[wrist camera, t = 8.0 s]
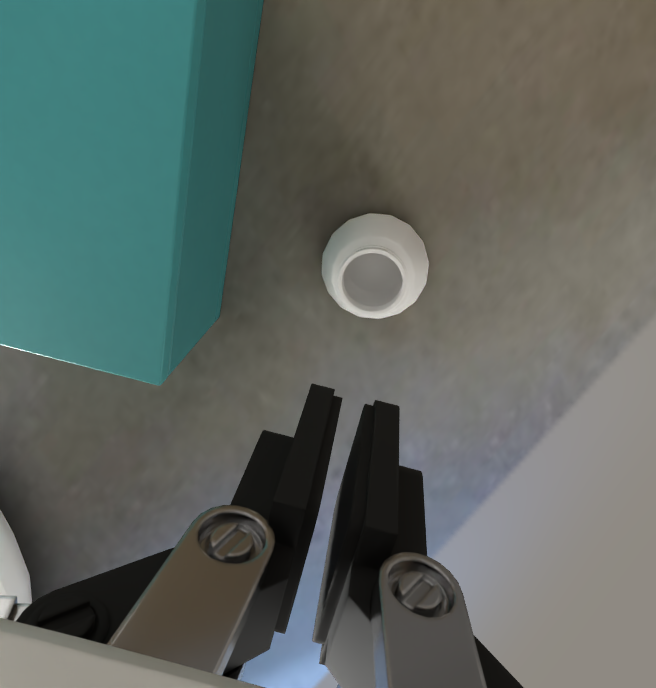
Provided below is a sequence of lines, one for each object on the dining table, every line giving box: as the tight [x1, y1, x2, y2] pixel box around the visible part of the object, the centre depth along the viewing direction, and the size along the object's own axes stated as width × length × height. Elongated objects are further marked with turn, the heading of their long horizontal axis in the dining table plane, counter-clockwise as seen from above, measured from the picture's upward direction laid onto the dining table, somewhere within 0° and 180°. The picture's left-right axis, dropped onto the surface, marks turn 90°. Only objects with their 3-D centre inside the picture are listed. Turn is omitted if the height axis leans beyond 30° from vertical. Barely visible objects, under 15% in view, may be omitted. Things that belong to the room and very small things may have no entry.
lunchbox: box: [168, 0, 264, 375], centre depth 22 cm, size 16×12×7 cm
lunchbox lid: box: [0, 0, 206, 385], centre depth 18 cm, size 16×12×1 cm
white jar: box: [321, 213, 429, 319], centre depth 25 cm, size 5×3×5 cm
